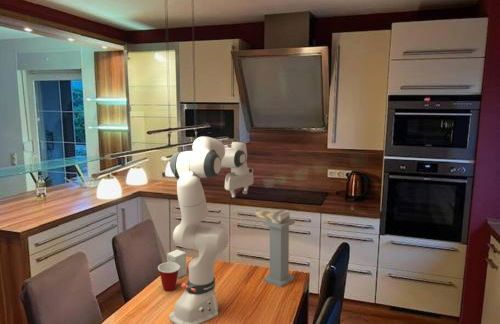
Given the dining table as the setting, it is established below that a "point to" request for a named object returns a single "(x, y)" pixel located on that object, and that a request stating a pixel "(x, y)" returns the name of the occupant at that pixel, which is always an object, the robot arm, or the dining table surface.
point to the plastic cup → (169, 275)
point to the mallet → (274, 215)
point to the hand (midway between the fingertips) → (239, 195)
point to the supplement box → (178, 261)
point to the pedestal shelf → (279, 253)
